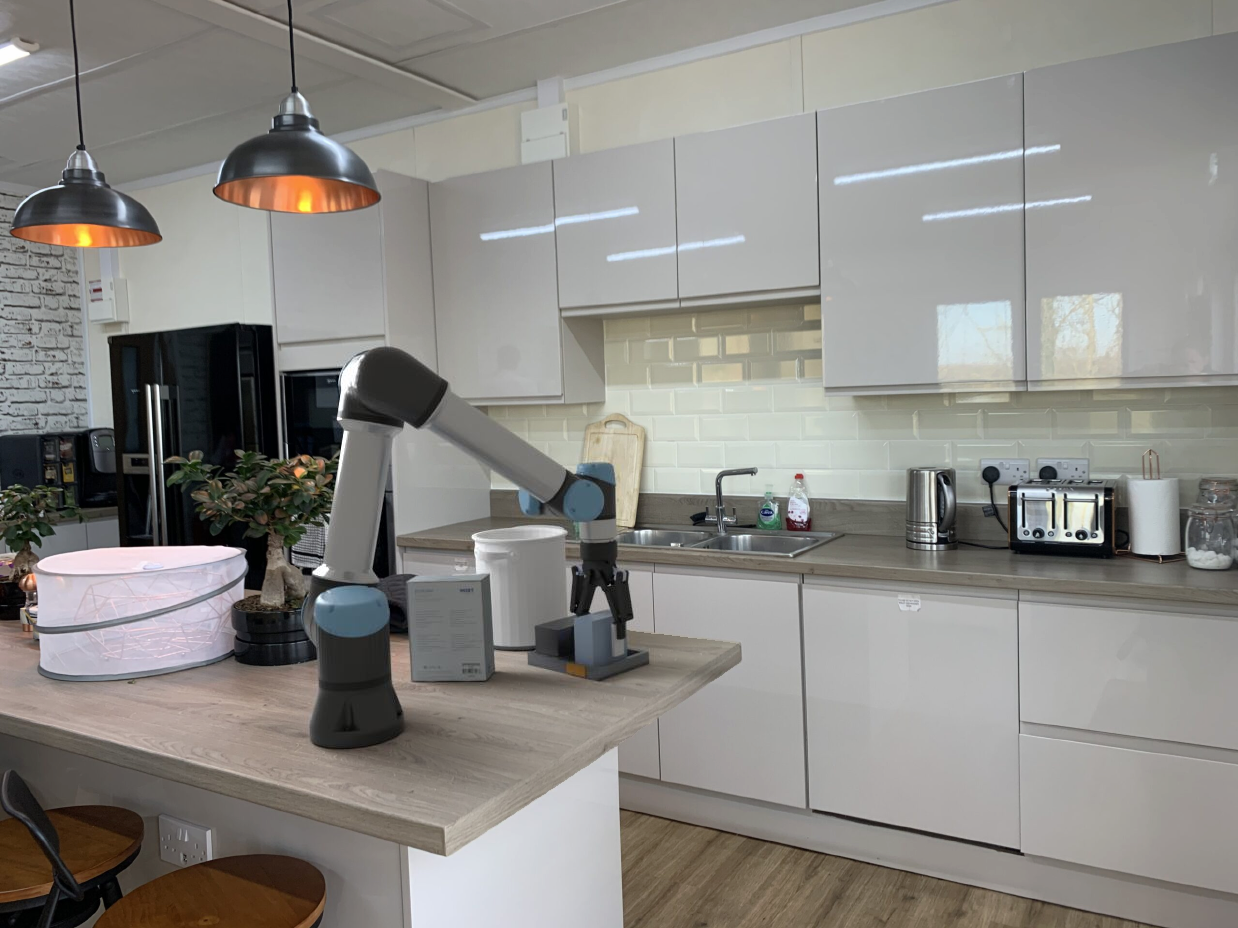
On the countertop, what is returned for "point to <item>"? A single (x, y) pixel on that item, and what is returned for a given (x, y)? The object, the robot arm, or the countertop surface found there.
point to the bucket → (523, 581)
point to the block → (595, 639)
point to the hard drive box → (450, 627)
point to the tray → (560, 653)
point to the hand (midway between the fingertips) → (602, 651)
